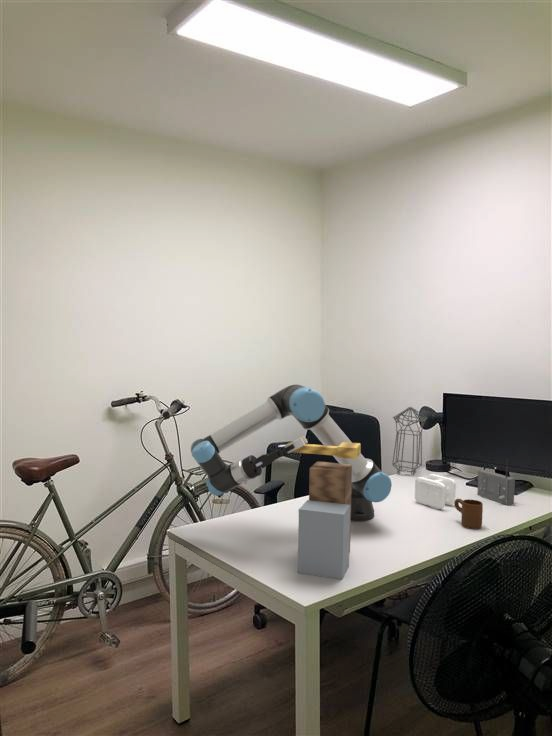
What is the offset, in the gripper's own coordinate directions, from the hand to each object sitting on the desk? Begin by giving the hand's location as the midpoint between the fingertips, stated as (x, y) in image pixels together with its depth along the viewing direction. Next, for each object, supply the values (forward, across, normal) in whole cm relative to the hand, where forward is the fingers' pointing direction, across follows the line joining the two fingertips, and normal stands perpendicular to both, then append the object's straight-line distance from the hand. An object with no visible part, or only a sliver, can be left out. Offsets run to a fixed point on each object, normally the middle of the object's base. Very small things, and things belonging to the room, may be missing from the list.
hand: (304, 440), depth 193 cm
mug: (+27, -48, -59) cm, 81 cm away
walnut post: (-11, 0, -38) cm, 39 cm away
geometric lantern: (+1, -120, -45) cm, 128 cm away
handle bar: (+3, 0, -6) cm, 7 cm away
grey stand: (-10, +12, -38) cm, 41 cm away
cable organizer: (+15, -70, -53) cm, 89 cm away
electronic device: (+36, -86, -65) cm, 114 cm away
